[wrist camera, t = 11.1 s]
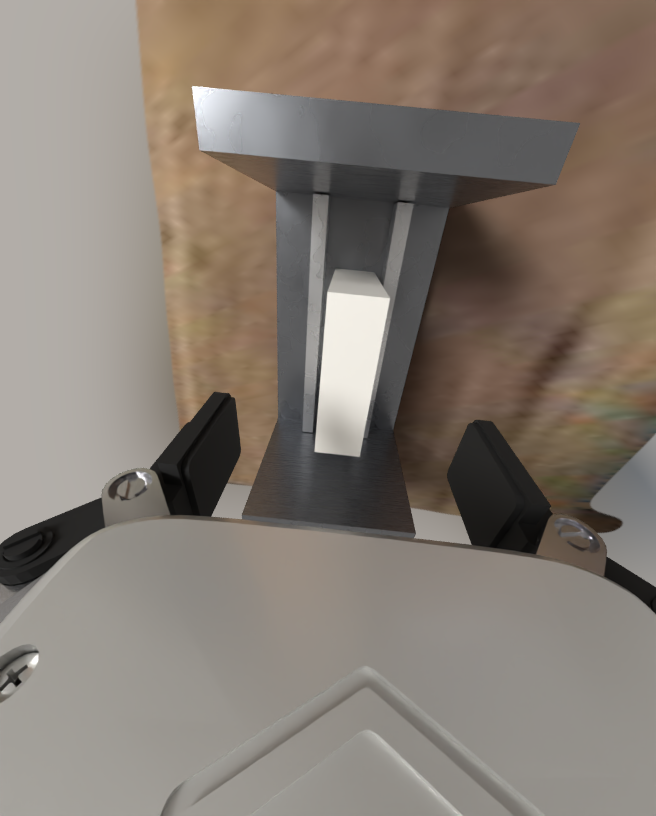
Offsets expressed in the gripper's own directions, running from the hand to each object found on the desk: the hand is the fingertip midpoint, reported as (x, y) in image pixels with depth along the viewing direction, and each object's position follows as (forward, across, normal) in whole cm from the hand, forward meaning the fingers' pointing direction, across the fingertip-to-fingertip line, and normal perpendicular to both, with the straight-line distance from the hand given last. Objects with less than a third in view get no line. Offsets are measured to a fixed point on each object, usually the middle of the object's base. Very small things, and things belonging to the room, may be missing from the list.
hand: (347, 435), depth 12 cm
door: (+15, 0, +1) cm, 15 cm away
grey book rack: (+16, 0, +1) cm, 16 cm away
